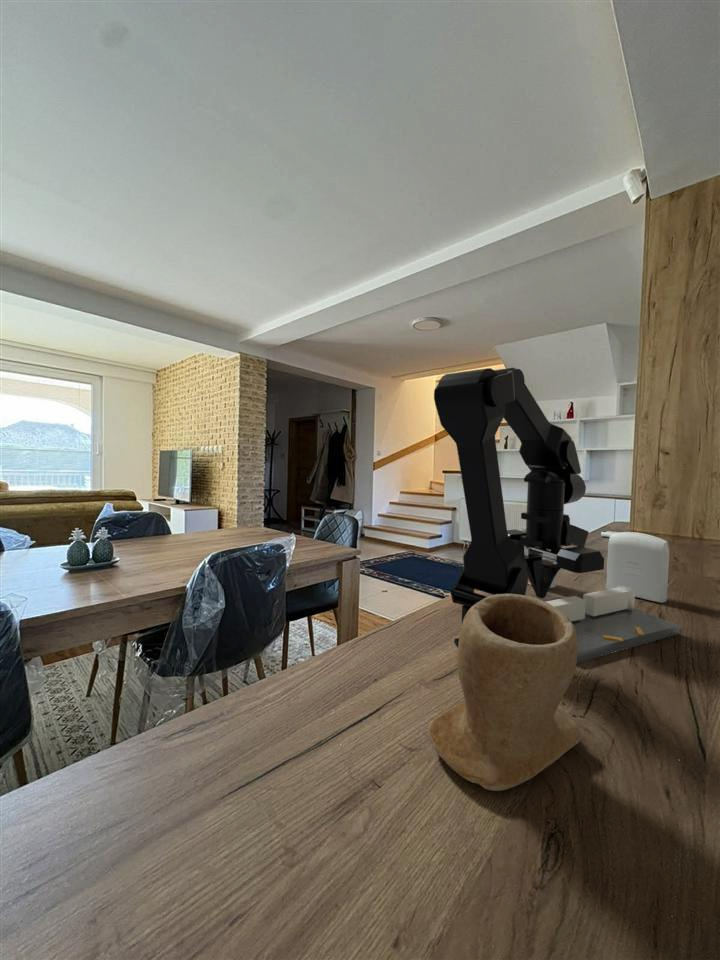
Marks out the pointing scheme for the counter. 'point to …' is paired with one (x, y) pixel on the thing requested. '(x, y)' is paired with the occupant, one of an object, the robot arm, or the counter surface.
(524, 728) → the stone cup
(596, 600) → the off-white long bar
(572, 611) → the white rectangular block
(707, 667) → the counter surface
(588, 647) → the levelling base
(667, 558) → the photo printer
